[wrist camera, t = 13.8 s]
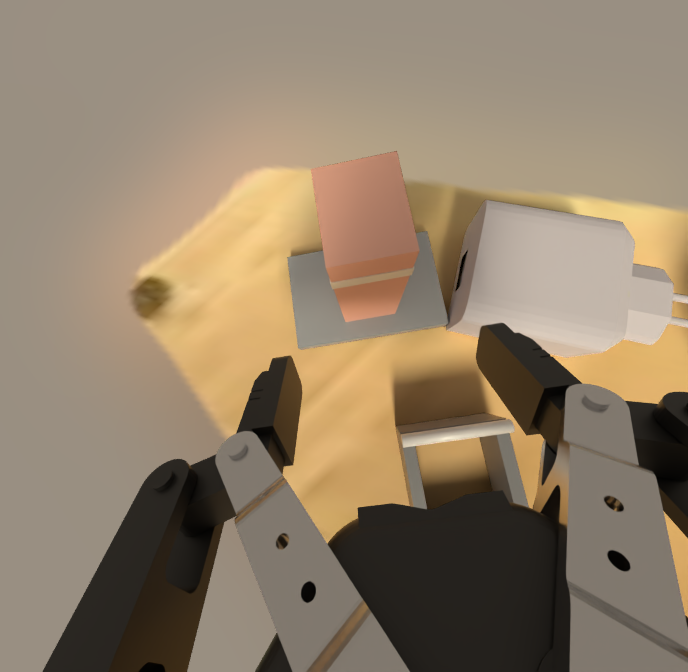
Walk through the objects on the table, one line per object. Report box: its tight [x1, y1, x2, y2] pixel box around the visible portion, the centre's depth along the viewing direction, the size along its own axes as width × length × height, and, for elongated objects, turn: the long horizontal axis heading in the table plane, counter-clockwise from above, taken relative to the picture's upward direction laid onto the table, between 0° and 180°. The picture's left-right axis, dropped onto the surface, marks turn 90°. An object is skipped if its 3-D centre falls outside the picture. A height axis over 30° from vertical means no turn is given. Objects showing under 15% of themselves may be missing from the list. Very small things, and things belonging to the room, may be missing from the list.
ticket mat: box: [287, 231, 449, 350], centre depth 22 cm, size 12×8×1 cm, turn 99°
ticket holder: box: [396, 413, 529, 509], centre depth 17 cm, size 7×8×4 cm
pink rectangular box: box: [311, 151, 420, 322], centre depth 16 cm, size 4×5×10 cm
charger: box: [446, 200, 688, 358], centre depth 19 cm, size 5×9×15 cm
